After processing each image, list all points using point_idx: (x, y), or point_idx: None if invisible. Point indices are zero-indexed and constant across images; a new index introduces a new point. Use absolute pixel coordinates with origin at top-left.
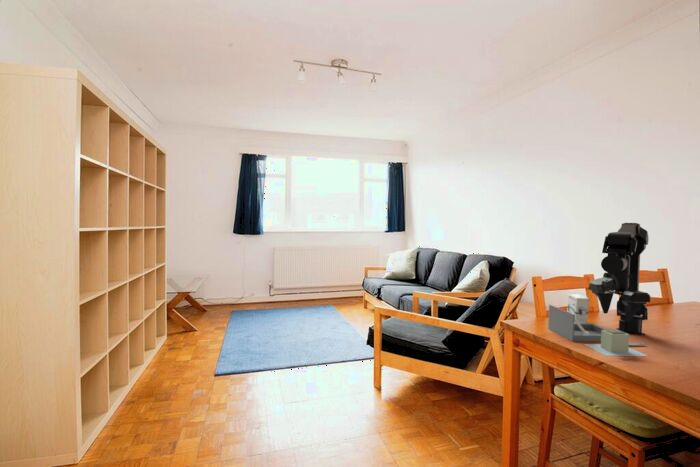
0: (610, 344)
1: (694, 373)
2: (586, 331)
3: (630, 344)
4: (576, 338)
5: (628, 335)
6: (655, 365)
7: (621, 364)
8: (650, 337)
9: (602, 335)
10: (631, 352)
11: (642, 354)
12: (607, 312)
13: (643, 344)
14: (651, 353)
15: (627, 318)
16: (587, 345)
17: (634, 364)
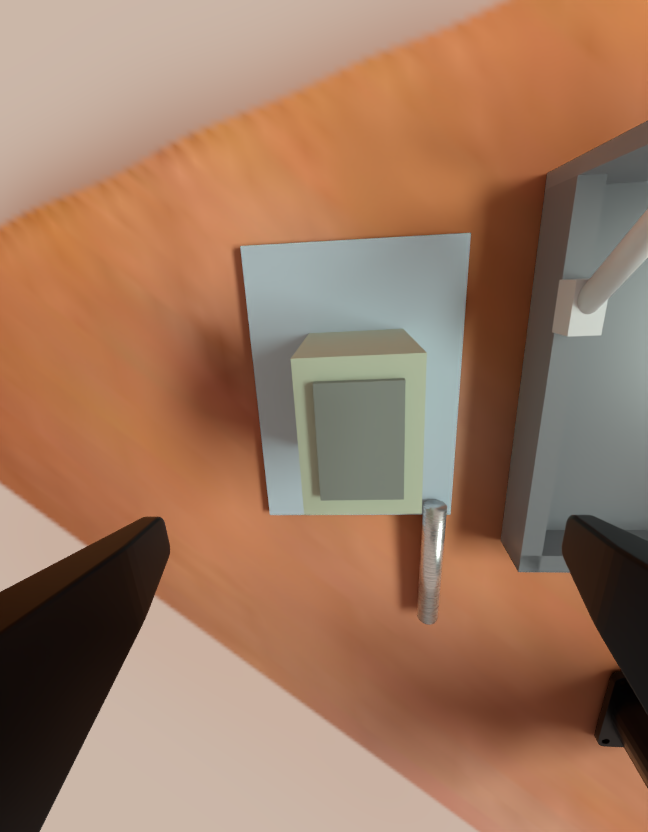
0: (308, 340)
1: None
2: (593, 325)
3: (422, 543)
4: (558, 212)
5: (304, 503)
6: (158, 458)
7: (129, 265)
8: (559, 732)
9: (402, 345)
10: None
11: (289, 501)
12: (566, 563)
13: (421, 609)
14: (329, 567)
15: (110, 541)
16: (440, 246)
17: (147, 351)
